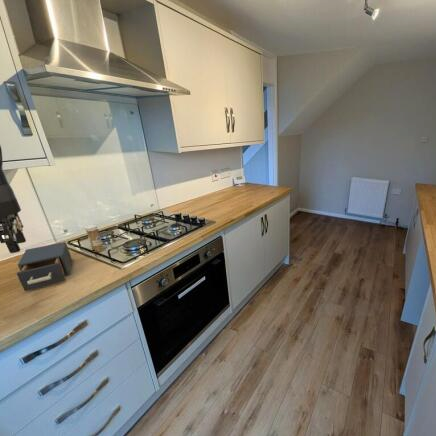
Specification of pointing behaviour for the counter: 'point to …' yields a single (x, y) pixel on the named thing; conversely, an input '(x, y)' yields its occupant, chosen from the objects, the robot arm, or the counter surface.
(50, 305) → the counter surface
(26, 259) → the cabinet
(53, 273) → the drawer
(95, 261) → the counter surface
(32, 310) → the counter surface
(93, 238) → the sprinkles bottle
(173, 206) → the counter surface
